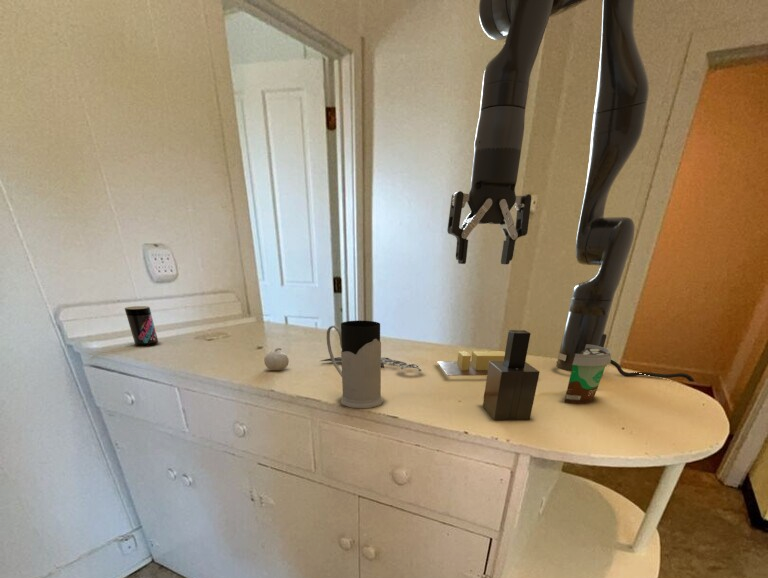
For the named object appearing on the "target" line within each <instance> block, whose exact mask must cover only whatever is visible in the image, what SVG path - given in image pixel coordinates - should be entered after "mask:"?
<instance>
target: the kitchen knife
mask: <svg viewBox="0 0 768 578" xmlns="http://www.w3.org/2000/svg"><path fill="white" fill-rule="evenodd" d="M531 333H532V332H529V331H527V330H525V329H508V332H507V337H506V338H507V339H506V344H505V350H504V351H505V356H504V363H503V364H504V365H505V366H506V367H508V368H513V369H515V370H518V368H524V366H525V362H526V361H527V355H528V349H529V343H530V338H531Z"/></svg>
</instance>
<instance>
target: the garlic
mask: <svg viewBox="0 0 768 578" xmlns="http://www.w3.org/2000/svg"><path fill="white" fill-rule="evenodd" d="M263 362H264V363H263V364H264V365H265V367H266V368H267V370H270V371H274V372H275V371H283V370H285V369H286V368H287V367H288V366H289V362H290V361H289V357H288V354H286V353H284V352H282V348H281V347H276V348H275V349H274V350H272V351H269V352H268V353H267V354H265V356H264V359H263Z"/></svg>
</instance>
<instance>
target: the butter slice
mask: <svg viewBox="0 0 768 578" xmlns="http://www.w3.org/2000/svg"><path fill="white" fill-rule="evenodd" d="M471 358H472V355H471V354H469V353H468V352H467V351H465V350H463V351H462V350H461V351H460V350H459V351H458V353H457V360H456V361H457V366H458V367H459V368H460V369H461V370H469V368H470V361H471Z"/></svg>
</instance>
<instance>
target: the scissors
mask: <svg viewBox="0 0 768 578" xmlns="http://www.w3.org/2000/svg"><path fill="white" fill-rule="evenodd" d="M334 359H335V361H336V362H341V356H340V357H339V356H338V357H337V356H336V357H334ZM320 362H332V360H331V358H325V359H321V360H320ZM385 365H387V366H393V367H400V368H399V370H401V371H403V369H408V368H409V369H411V368H412V369H416V370H417V372H422V370H423V369H421V368H420V367H419V365H417V364H414V363H408V362H404V361H399V360H395V359H391V358H390V357H385V356H384V357H382V356H381V368H385Z"/></svg>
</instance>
